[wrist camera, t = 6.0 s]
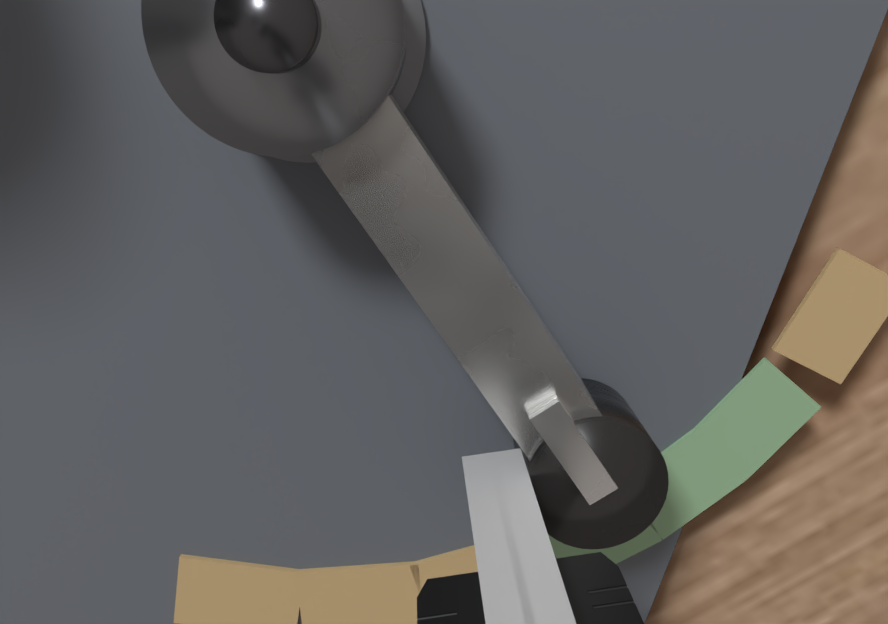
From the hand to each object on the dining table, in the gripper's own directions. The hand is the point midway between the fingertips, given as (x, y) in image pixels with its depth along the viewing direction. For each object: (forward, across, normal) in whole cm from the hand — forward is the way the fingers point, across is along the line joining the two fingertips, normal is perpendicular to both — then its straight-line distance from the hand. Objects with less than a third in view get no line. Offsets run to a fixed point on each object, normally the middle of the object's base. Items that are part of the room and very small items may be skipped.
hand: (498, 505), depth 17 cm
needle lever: (+1, 0, +6) cm, 6 cm away
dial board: (+3, -2, +3) cm, 5 cm away
